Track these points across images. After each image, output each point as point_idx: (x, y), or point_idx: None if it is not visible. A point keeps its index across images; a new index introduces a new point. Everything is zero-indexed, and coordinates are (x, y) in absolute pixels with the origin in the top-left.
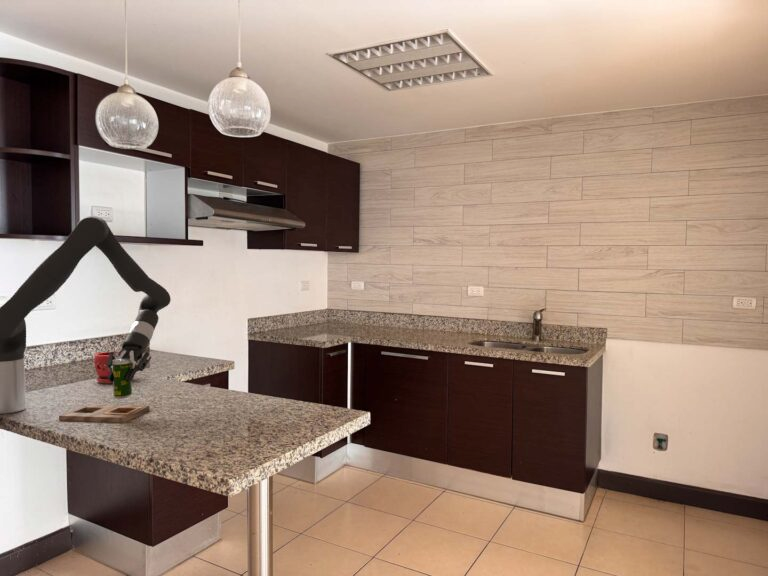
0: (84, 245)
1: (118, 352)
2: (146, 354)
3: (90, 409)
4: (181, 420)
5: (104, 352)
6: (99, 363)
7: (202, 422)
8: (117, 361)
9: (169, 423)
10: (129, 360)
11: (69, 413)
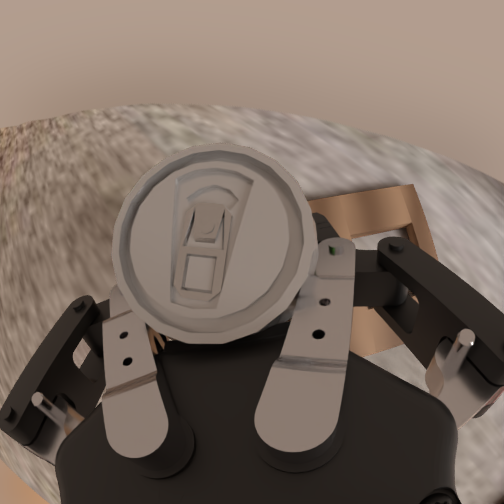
0: None
1: (448, 410)
2: (10, 403)
3: (412, 296)
4: (63, 298)
5: None
6: None
7: (26, 294)
8: (187, 149)
9: (75, 265)
10: (128, 286)
11: (409, 211)
